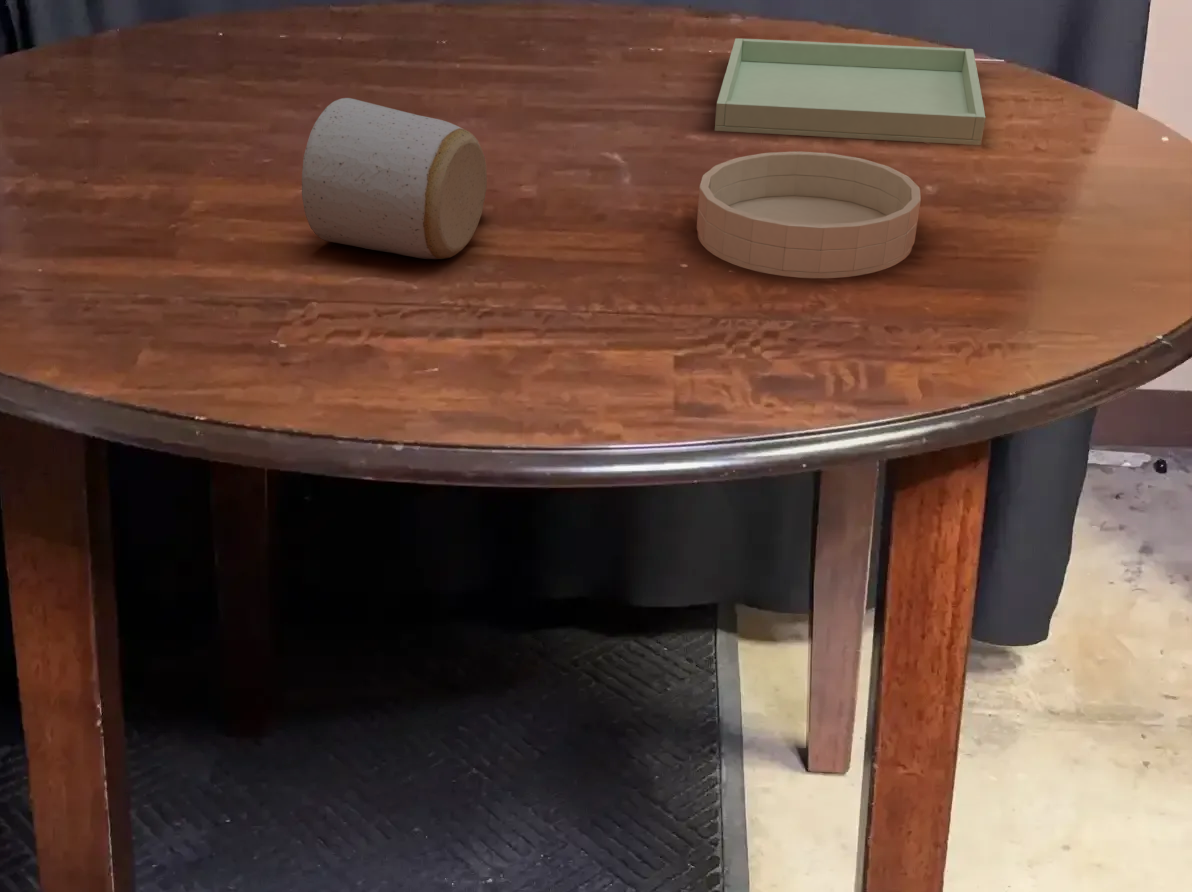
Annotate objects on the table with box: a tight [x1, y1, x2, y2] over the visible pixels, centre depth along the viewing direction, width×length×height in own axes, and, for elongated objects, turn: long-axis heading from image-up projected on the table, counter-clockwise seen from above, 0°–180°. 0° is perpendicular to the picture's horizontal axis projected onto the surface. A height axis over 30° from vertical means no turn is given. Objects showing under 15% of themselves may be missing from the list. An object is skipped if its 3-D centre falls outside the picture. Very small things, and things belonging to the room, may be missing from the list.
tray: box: [714, 37, 987, 146], centre depth 105 cm, size 17×16×2 cm
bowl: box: [696, 150, 922, 279], centre depth 84 cm, size 12×12×3 cm
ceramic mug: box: [301, 97, 488, 260], centre depth 83 cm, size 11×8×8 cm
